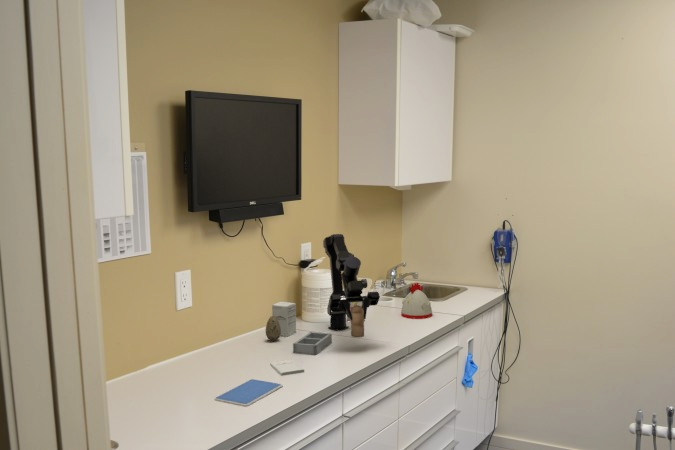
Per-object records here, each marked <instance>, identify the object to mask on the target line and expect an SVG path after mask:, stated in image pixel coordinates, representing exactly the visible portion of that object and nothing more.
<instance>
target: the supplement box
mask: <svg viewBox="0 0 675 450" xmlns="http://www.w3.org/2000/svg"><path fill="white" fill-rule="evenodd" d="M296 306H297V303H295V302H289V301H279V302H278V301H277V302H276V303H273V304H271V310H272V313H271V314H272V315H271V316H275V317H276V318H277V319H278V321H279V324H280V328H281V334H280V337H289V336H292V335H294V334H296V333H297V309H296V308H297V307H296Z"/></svg>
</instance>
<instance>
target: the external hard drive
mask: <svg viewBox="0 0 675 450" xmlns="http://www.w3.org/2000/svg"><path fill="white" fill-rule="evenodd" d="M269 363H270V364H269V365H270V367H272V368H273V369H274V370H275V371H276V373H278V374H279V375H280V376H286V375H289V376H290V375H293V374H295V375H296V374H301V373H305V369H304V368H303V367H302V366H301V365H299V364H298V363H297V362H295V361H294V360H293V359H285V360H280V361H279V360H278V361H271V362H269Z"/></svg>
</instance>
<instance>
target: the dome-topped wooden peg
mask: <svg viewBox="0 0 675 450" xmlns="http://www.w3.org/2000/svg"><path fill="white" fill-rule="evenodd" d="M351 314H352V320H351V322H350V336H351V337H352V338H362V337H364V336H365V321H364V310H363V308H362V307H361V306H359V305H356V306H354V307H353V308H352V309H351Z"/></svg>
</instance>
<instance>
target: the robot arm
mask: <svg viewBox="0 0 675 450" xmlns="http://www.w3.org/2000/svg"><path fill="white" fill-rule="evenodd" d="M322 242H323V243H322V247H323V248H324V251H325V252H324V253H325V254H326V255H327V257H328V258H329V266H330V268H329V269H330V277H331V278H330V280H331V288H332V292H331V294H330V296H329V300H328V302H327V303H328V304H327V308H326V310H327V315H329V317H330V321H329V322H330V323H329V324H330V326H328V327H327V329H329V330H333V329H334V331H338V330H340V331H343V330H345V329H349V328H350V326H347V316H348V317H349V319H350V320H352V314H351V311H350V305H351V304H350V302H362V308H363V310H364V319H365V320H366V319H367V318H366V317H367V311H368V308H370V306H377V305H378V303H379V301H380V297H381V296H380V293H379V292H378V291H368V292H367V295H362V294H363V290H364V289H367V288H368V280H367V278H363V279H362V278H361V279H360V280H358V278H357V276H358V275H359V273H360V268H361V265H362V262H361V260H360V259H359V258H358V257H356V256H355V254H353V253H351V252H349V250H348V248H347V245H346V242H345V236H344V234H342V233H335V234H334V233H332V234H330V235H329V236H327V237H325V238H324V239H323V241H322Z"/></svg>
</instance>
